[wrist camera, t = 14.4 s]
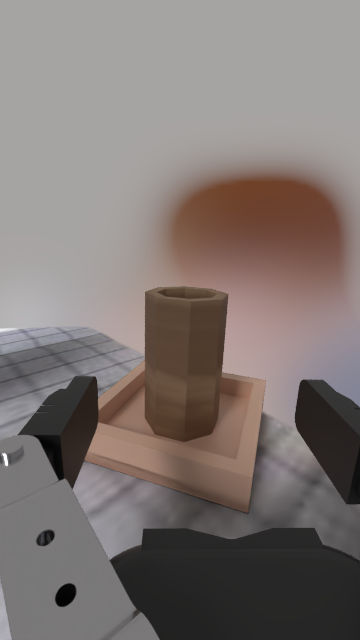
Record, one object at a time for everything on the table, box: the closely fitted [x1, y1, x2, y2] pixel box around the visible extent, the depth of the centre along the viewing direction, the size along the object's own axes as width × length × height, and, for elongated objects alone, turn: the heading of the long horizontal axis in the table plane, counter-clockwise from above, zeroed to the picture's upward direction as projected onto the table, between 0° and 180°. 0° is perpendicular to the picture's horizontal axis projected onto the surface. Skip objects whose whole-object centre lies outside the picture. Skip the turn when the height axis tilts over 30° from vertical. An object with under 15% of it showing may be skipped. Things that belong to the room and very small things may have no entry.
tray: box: [84, 360, 266, 513], centre depth 23 cm, size 12×12×2 cm
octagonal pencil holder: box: [145, 287, 228, 442], centre depth 22 cm, size 5×7×10 cm
